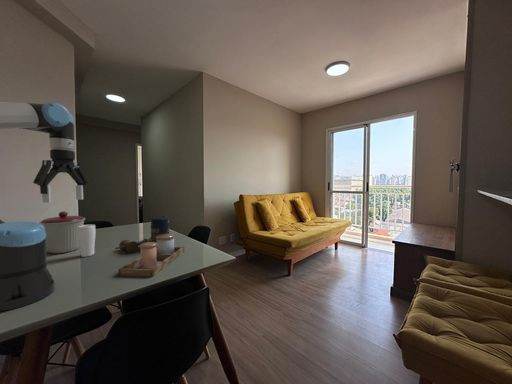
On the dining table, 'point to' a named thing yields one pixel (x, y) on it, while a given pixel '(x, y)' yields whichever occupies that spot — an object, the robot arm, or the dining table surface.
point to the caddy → (167, 259)
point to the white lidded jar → (165, 243)
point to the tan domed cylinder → (148, 255)
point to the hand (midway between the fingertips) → (64, 201)
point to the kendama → (131, 245)
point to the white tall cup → (86, 239)
